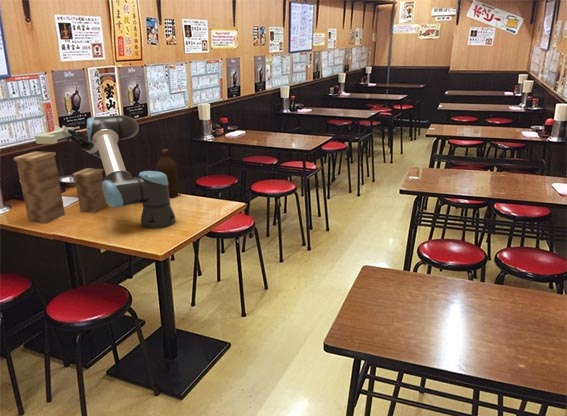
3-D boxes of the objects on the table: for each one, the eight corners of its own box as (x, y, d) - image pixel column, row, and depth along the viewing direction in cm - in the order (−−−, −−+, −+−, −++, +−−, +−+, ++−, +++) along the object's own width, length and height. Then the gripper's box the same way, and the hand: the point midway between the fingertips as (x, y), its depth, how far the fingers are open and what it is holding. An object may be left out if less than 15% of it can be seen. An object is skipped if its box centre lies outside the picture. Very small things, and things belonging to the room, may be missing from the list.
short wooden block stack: (108, 205, 230) (103, 168, 224) (95, 213, 220) (89, 174, 214) (92, 204, 232) (86, 168, 226) (78, 212, 222) (72, 173, 215)
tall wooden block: (66, 214, 219) (55, 152, 209) (48, 223, 207) (35, 158, 197) (46, 212, 221) (34, 151, 212) (26, 222, 209) (13, 157, 200)
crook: (69, 134, 229) (68, 127, 228) (84, 134, 228) (83, 127, 227) (36, 143, 207) (34, 136, 206) (52, 144, 206) (51, 136, 204)
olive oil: (176, 191, 251) (172, 146, 243) (181, 197, 242) (177, 150, 234) (157, 194, 247) (152, 148, 239) (161, 200, 238) (156, 152, 230)
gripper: (101, 151, 239) (73, 136, 217) (72, 150, 243) (42, 135, 220) (103, 137, 241) (75, 121, 218) (75, 137, 244) (45, 120, 221)
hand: (59, 128), depth 219 cm, fingers closed on crook, 3 cm apart
